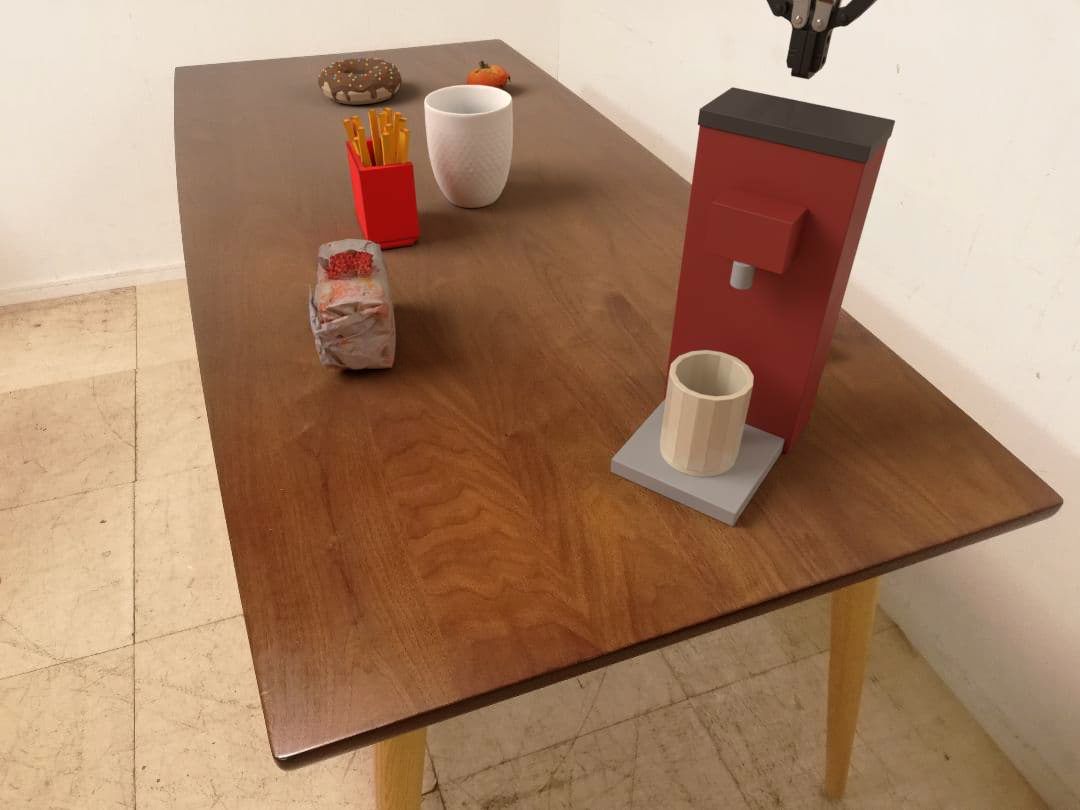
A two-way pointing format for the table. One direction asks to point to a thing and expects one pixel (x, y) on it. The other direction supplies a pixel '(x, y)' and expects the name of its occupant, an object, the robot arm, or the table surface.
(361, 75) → the donut
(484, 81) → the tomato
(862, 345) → the table surface
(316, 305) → the food item
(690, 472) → the cream cup
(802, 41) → the robot arm
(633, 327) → the table surface
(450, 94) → the mug
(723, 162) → the coffee maker
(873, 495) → the table surface
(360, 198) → the french fries container
